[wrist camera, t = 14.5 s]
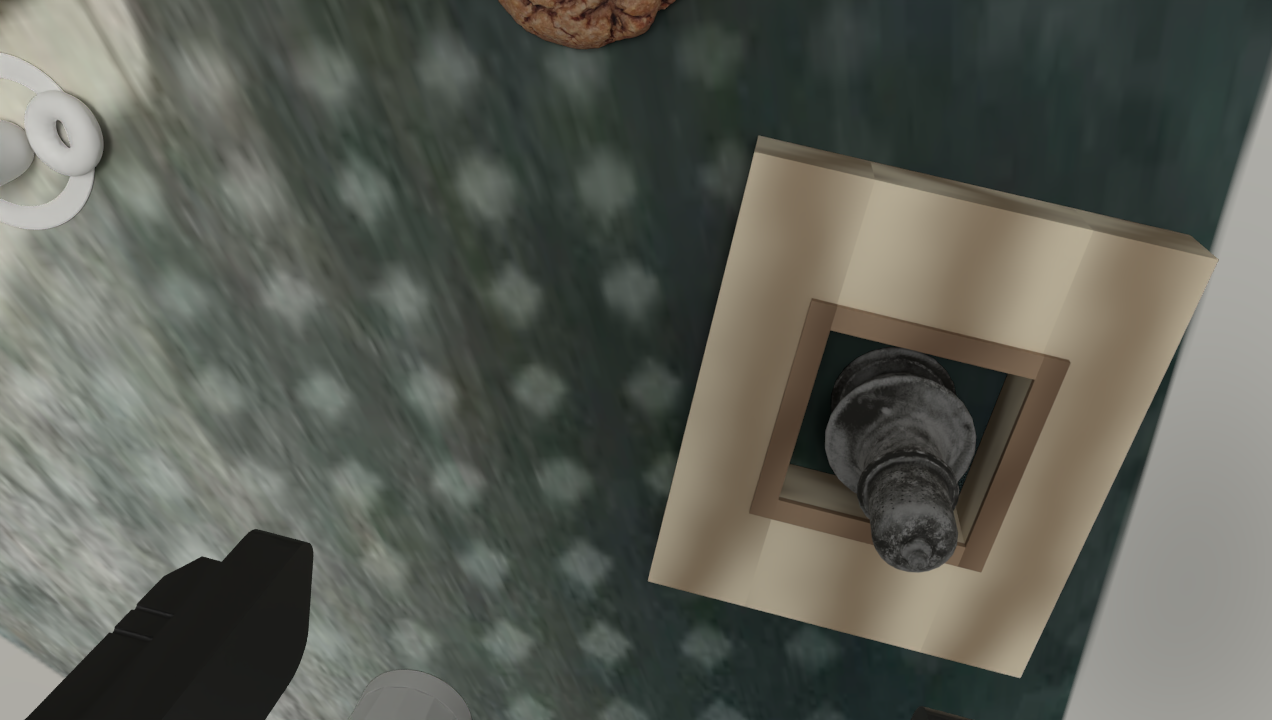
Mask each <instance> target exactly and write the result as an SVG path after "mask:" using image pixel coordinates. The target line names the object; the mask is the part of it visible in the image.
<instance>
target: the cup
mask: <svg viewBox="0 0 1272 720" xmlns="http://www.w3.org/2000/svg"><path fill="white" fill-rule="evenodd" d="M348 720H472V718H471V714H470V711H469V708H468V706H467V704H466V703H465V701H464V700H463V698H462V697H461V696H460V695H459V694H458V693H457V692H456V691H455V690H454V689H453V688H452V687H451V686H450V685H448V684H447V683H445V682H444V681H442V680H440V679H439V678H437V677H434V676H432V675H430V674H427V673H424V672H420V671H414V670H394V671H389V672H386V673H383V674H381V675H379V676H377V677H376V678H375V679H373V680H372V681H371V682H370V683H369V684H368V686H367V687H366V689H365V691H364V692H363V694H362V696H361V698H360V699H359V701H358V703H357V705H356V707H355V709H354V711H353V713H352V714H351V716H350V717H349V718H348Z"/></svg>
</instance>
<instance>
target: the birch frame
mask: <svg viewBox="0 0 1272 720" xmlns="http://www.w3.org/2000/svg"><path fill="white" fill-rule="evenodd" d="M1218 261H1219V259H1217V258H1216V257H1215V256H1214V255H1213V254H1211V253H1210V252H1209V251H1208V250H1207V249H1206V248H1204V247H1203V246H1202V245H1201V244H1200V243H1199V242H1197V241H1196V240H1195V239H1194V238H1193V237H1192V236H1190V235H1187V234H1182V233H1178V232H1174V231H1169V230H1165V229H1161V228H1156V227H1152V226H1148V225H1143V224H1139V223H1135V222H1131V221H1126V220H1122V219H1118V218H1113V217H1109V216H1105V215H1100V214H1096V213H1092V212H1087V211H1083V210H1079V209H1074V208H1070V207H1066V206H1061V205H1057V204H1053V203H1048V202H1044V201H1040V200H1035V199H1031V198H1027V197H1023V196H1018V195H1014V194H1010V193H1005V192H1001V191H997V190H992V189H988V188H984V187H979V186H975V185H971V184H966V183H962V182H958V181H953V180H949V179H945V178H940V177H936V176H932V175H928V174H923V173H919V172H915V171H910V170H906V169H902V168H897V167H893V166H889V165H884V164H880V163H876V162H871V161H867V160H863V159H858V158H854V157H850V156H845V155H841V154H837V153H832V152H828V151H824V150H820V149H815V148H811V147H807V146H802V145H798V144H794V143H789V142H785V141H781V140H776V139H772V138H768V137H763V136H759V135H758V139H757V143H756V147H755V151H754V155H753V159H752V163H751V167H750V171H749V175H748V179H747V183H746V187H745V191H744V195H743V199H742V203H741V208H740V212H739V216H738V220H737V224H736V228H735V232H734V236H733V240H732V244H731V248H730V252H729V256H728V260H727V264H726V268H725V272H724V276H723V280H722V284H721V288H720V292H719V296H718V300H717V304H716V308H715V312H714V316H713V320H712V324H711V328H710V332H709V336H708V340H707V344H706V348H705V352H704V356H703V360H702V364H701V368H700V372H699V376H698V380H697V384H696V388H695V392H694V396H693V400H692V404H691V408H690V412H689V416H688V420H687V424H686V428H685V432H684V436H683V440H682V444H681V448H680V452H679V456H678V460H677V464H676V468H675V472H674V476H673V480H672V484H671V488H670V492H669V497H668V501H667V505H666V509H665V513H664V517H663V521H662V525H661V529H660V533H659V537H658V541H657V545H656V549H655V553H654V557H653V561H652V566H651V570H650V574H649V578H648V581H649V582H653V583H657V584H660V585H664V586H668V587H672V588H676V589H680V590H683V591H687V592H691V593H695V594H699V595H703V596H707V597H710V598H714V599H718V600H722V601H726V602H730V603H733V604H737V605H741V606H745V607H749V608H753V609H756V610H760V611H764V612H768V613H772V614H776V615H779V616H783V617H787V618H791V619H795V620H799V621H803V622H806V623H810V624H814V625H818V626H822V627H826V628H829V629H833V630H837V631H841V632H845V633H849V634H852V635H856V636H860V637H864V638H868V639H872V640H876V641H879V642H883V643H887V644H891V645H895V646H899V647H902V648H906V649H910V650H914V651H918V652H922V653H925V654H929V655H933V656H937V657H941V658H945V659H949V660H952V661H956V662H960V663H964V664H968V665H972V666H975V667H979V668H983V669H987V670H991V671H995V672H998V673H1002V674H1006V675H1010V676H1014V677H1018V678H1021V676H1022V673H1023V671H1024V669H1025V667H1026V665H1027V663H1028V661H1029V659H1030V657H1031V654H1032V652H1033V650H1034V648H1035V646H1036V644H1037V642H1038V640H1039V638H1040V636H1041V633H1042V631H1043V629H1044V627H1045V625H1046V623H1047V621H1048V619H1049V617H1050V614H1051V612H1052V610H1053V608H1054V606H1055V604H1056V602H1057V600H1058V598H1059V595H1060V593H1061V591H1062V589H1063V587H1064V585H1065V583H1066V581H1067V579H1068V577H1069V574H1070V572H1071V570H1072V568H1073V566H1074V564H1075V562H1076V560H1077V558H1078V555H1079V553H1080V551H1081V549H1082V547H1083V545H1084V543H1085V541H1086V539H1087V537H1088V534H1089V532H1090V530H1091V528H1092V526H1093V524H1094V522H1095V520H1096V518H1097V515H1098V513H1099V511H1100V509H1101V507H1102V505H1103V503H1104V501H1105V499H1106V496H1107V494H1108V492H1109V490H1110V488H1111V486H1112V484H1113V482H1114V480H1115V478H1116V475H1117V473H1118V471H1119V469H1120V467H1121V465H1122V463H1123V461H1124V459H1125V456H1126V454H1127V452H1128V450H1129V448H1130V446H1131V444H1132V442H1133V440H1134V438H1135V435H1136V433H1137V431H1138V429H1139V427H1140V425H1141V423H1142V421H1143V419H1144V416H1145V414H1146V412H1147V410H1148V408H1149V406H1150V404H1151V402H1152V400H1153V397H1154V395H1155V393H1156V391H1157V389H1158V387H1159V385H1160V383H1161V381H1162V379H1163V376H1164V374H1165V372H1166V370H1167V368H1168V366H1169V364H1170V362H1171V360H1172V357H1173V355H1174V353H1175V351H1176V349H1177V347H1178V345H1179V343H1180V341H1181V338H1182V336H1183V334H1184V332H1185V330H1186V328H1187V326H1188V324H1189V322H1190V320H1191V317H1192V315H1193V313H1194V311H1195V309H1196V307H1197V305H1198V303H1199V301H1200V298H1201V296H1202V294H1203V292H1204V290H1205V288H1206V286H1207V284H1208V282H1209V280H1210V277H1211V275H1212V273H1213V271H1214V269H1215V267H1216V265H1217V263H1218ZM830 330H831V331H835V332H840V333H844V334H848V335H852V336H856V337H860V338H864V339H868V340H873V341H877V342H881V343H885V344H889V345H893V346H897V347H901V348H906V349H910V350H914V351H918V352H922V353H926V354H930V355H934V356H939V357H943V358H947V359H951V360H955V361H959V362H963V363H968V364H972V365H976V366H980V367H984V368H988V369H992V370H996V371H1001V372H1005V373H1008V375H1007V377H1006V380H1005V382H1004V385H1003V387H1002V390H1001V392H1000V395H999V397H998V400H997V402H996V405H995V407H994V410H993V412H992V415H991V417H990V420H989V422H988V425H987V427H986V430H985V432H984V435H983V437H982V440H981V442H980V445H979V447H978V450H977V452H976V455H975V457H974V460H973V462H972V465H971V467H970V470H969V472H968V475H967V477H966V480H965V482H964V485H963V487H962V490H961V492H960V495H959V499H958V502H957V505H956V507H955V510H954V511H953V512H954V517H955V521H956V525H957V530H958V541H957V546H956V549H955V551H954V553H953V555H952V556H951V557H950V559H949V560H948V561H947V562H946V563H944V564H943V565H941V566H940V567H938V568H935V569H933V570H930V571H926V572H919V573H918V572H906V571H902V570H899V569H896V568H894V567H892V566H890V565H889V564H887V563H886V562H885V561H884V560H883V559H882V558H881V557H880V555H879V554H878V552H877V551H876V549H875V547H874V544H873V541H872V536H871V526H870V519H869V518H867V517H866V515H865V514H864V512H863V511H862V509H861V508H860V505H859V502H858V498H857V494H856V493H854V492H852V491H851V490H850V489H849V488H848V487H847V486H846V485H844V484H843V483H842V482H841V481H840V480H839V479H838V477H837V476H836V475H832V474H828V473H824V472H820V471H816V470H812V469H808V468H804V467H800V466H796V465H792V464H789V463H790V460H791V457H792V453H793V450H794V447H795V443H796V440H797V437H798V434H799V430H800V427H801V424H802V421H803V417H804V414H805V411H806V408H807V404H808V401H809V398H810V394H811V391H812V388H813V385H814V381H815V378H816V375H817V372H818V368H819V365H820V362H821V359H822V355H823V352H824V349H825V346H826V342H827V339H828V336H829V332H830Z"/></svg>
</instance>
